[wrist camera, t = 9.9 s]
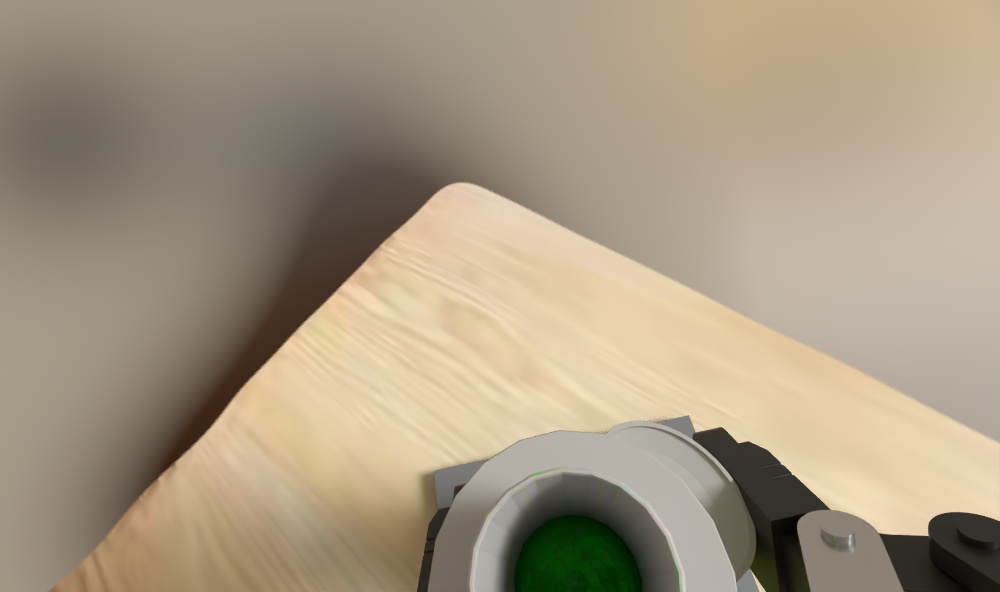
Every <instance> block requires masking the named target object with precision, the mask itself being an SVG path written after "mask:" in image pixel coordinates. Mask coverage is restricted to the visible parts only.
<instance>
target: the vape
mask: <svg viewBox="0 0 1000 592" xmlns="http://www.w3.org/2000/svg"><path fill="white" fill-rule="evenodd" d="M755 551H756V532H755V526H754V524H753V521H752V519H751V516H750V514H749V512H748V509H747V507H746V505H745V502H744V500H743V498H742V495H741V493H740V491H739V488H738V486H737V484H736V483H735V481H734V480H733V478H732V477H731V476H730V474H729V473H728V472H727V471H726V469H725V468H724V467H723V466H722V465H721V464H720V463H719V462H718V461H717V459H716V458H714V457H713V456H712V455H711V454H710V453H709V452H708V451H707V450H706V449H704V448H703V447H702V446H701V445H699V444H698V443H697V442H695V441H694V440H692V439H691V438H689V437H688V436H686V435H684V434H682V433H681V432H679V431H676V430H674V429H672V428H670V427H667V426H664V425H661V424H658V423H654V422H648V421H630V422H625V423H622V424H619V425H617V426H615V427H613V428H612V429H611V430H610V431H609V432H607V433H606V434H602V433H592V432H577V431H563V430H558V431H554V432H550V433H546V434H542V435H538V436H534V437H530V438H526V439H522V440H519V441H518V442H516V443H514V444H513V445H511V446H510V447H508V448H506V449H505V450H503V451H502V452H500V453H498V454H497V455H495V456H494V457H492V458H490V459H489V460H487V461H486V462H484V463H483V464H482V466H481V467H480V468H479V469H478V470H477V471H476V473H475V474H474V475H473V476H472V477H471V478H470V480H469V481H468V482H467V483H466V484H465V485H464V487H463V488H462V489H461V490H460V491H459V492H458V493H457V495H456V496H455V498H454V500H453V502H452V505H451V507H450V509H449V511H448V513H447V516H446V518H445V520H444V522H443V524H442V527H441V529H440V531H439V533H438V536H437V538H436V541H435V547H434V554H433V560H432V566H431V572H430V579H429V585H428V592H737V586H736V583H737V582H738V580H739V579H740V578H741V577H742V576H743V575H744V574H745V573H746V571H747V570H748V569H749V568H750V567H751V564H752V562H753V560H754V556H755Z"/></svg>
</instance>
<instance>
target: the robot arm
mask: <svg viewBox="0 0 1000 592" xmlns="http://www.w3.org/2000/svg"><path fill="white" fill-rule="evenodd" d="M692 440H694V441H695V442H697V443H698V444H699V445H701V446H702V447H703V448H704V449H706V450H707V451H708V452H709V453H710V454H711V455H712V456H713V457H714V458H716V459H717V461H718V462H719V463H720V464H721V465H722V466H723V467H724V468H725V469H726V471H727V472H728V473H729V474H730V476H731V477H732V478H733V480H734V481H735V483H736V484H737V486H738V488H739V491H740V493H741V495H742V498H743V500H744V502H745V505H746V507H747V509H748V512H749V514H750V516H751V519H752V521H753V524H754V526H755V532H756V551H755V556H754V560H753V562H752V564H751V567H750V569H751V571H752V572H753V573H754V575H755V576H756V578H757V579H758V581H759V582H760V584H761V585H762V587H763V588H764V589H765V591H766V592H1000V521H997V520H995V519H992V518H989V517H985V516H981V515H977V514H971V513H963V512H950V513H944V514H940V515H937V516H935V517H934V518H933V519H931V521H930V522H929V525H928V535H929V536H912V535H889V534H880V533H878V532H877V531H876V529H875V528H874V527H872V526H871V525H870V524H869V523H867V522H866V521H864V520H863V519H861V518H859V517H857V516H854V515H852V514H849V513H845V512H841V511H835V510H830V509H829V508H828V507H827V506H826V505H825V504H824V503H823V502H822V501H821V500H820V499H819V498H818V497H817V496H816V495H815V494H813V493H812V492H811V491H810V490H809V489H808V488H807V487H806V486H805V485H804V484H803V483H802V482H801V481H800V480H799V479H798V478H796V477H795V476H794V475H792V474H791V472H790V471H789V470H788V469H787V468H786V467H785V466H784V465H781V463H780V462H779V461H778V460H777V459H776V458H775V457H774V456H773V455H772V454H771V453H770V452H769V451H768V450H766V449H764V448H762V447H759V446H757V445H755V444H753V443H751V442H749V441H748V442H743V443H739V444H738V443H737V442H736V441H735V440H734V439H733V437H732V436H731V435H730V434H729V433H728V432H727V431H726V430H725V429H724V428H722V427H719V428H715V429H710V430H706V431H701V432H697V433H693V437H692ZM465 484H466V483H465ZM465 484H460V485H456V486H455V488H454V496H453V500H454V498H455V496H456V495H457V493H458V492H459V491H460V490H461V489H462V488H463V487H464V485H465ZM449 509H450V507H446V508H442V509H439V510H438V511H437V513H436V514H435V516H434V517H433V519H432V520H431V522H430V523H429V527H428V533H427V539H426V540H427V542H426V544H425V550H424V556H423V561H422V567H421V573H420V578H419V584H418V589H417V592H428V585H429V579H430V572H431V566H432V560H433V554H434V547H435V541H436V538H437V536H438V533H439V531H440V529H441V527H442V524H443V522H444V520H445V518H446V516H447V513H448V511H449Z"/></svg>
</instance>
